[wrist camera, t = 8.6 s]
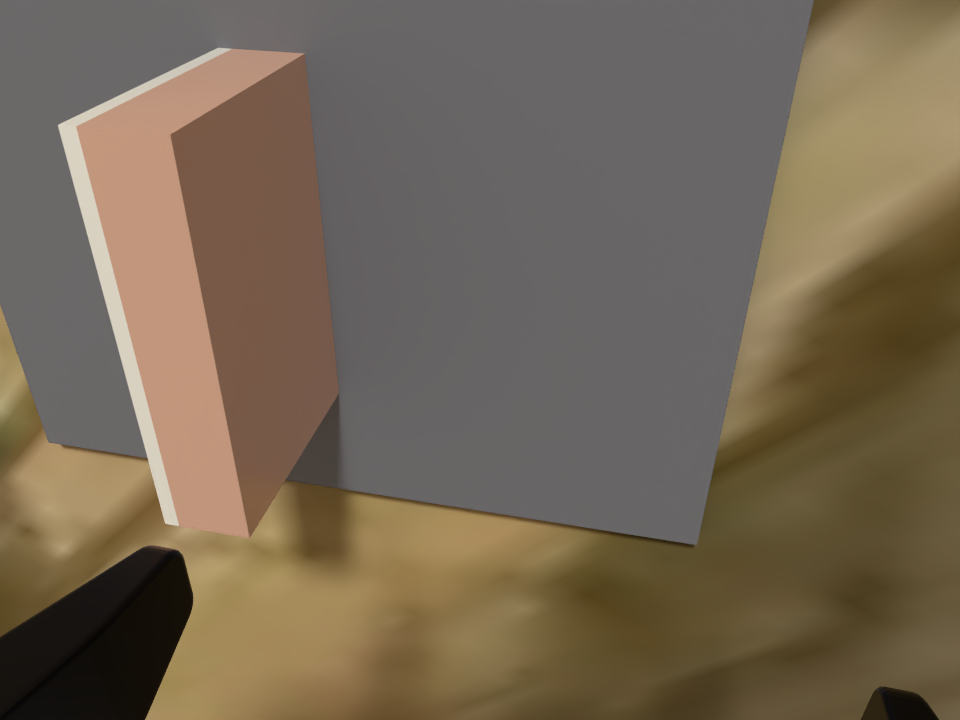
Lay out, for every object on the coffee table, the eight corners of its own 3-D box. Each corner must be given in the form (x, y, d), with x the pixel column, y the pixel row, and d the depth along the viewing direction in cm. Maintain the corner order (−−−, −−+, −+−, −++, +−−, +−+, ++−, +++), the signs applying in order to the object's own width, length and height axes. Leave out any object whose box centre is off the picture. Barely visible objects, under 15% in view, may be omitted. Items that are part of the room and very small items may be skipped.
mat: (865, -263, 12) (870, -265, 12) (696, 533, 21) (696, 545, 20) (-178, -258, 15) (-198, -260, 15) (57, 434, 24) (48, 442, 24)
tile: (304, 53, 16) (170, 134, 12) (338, 393, 20) (249, 538, 16) (218, 47, 16) (57, 124, 12) (270, 383, 21) (165, 523, 17)
